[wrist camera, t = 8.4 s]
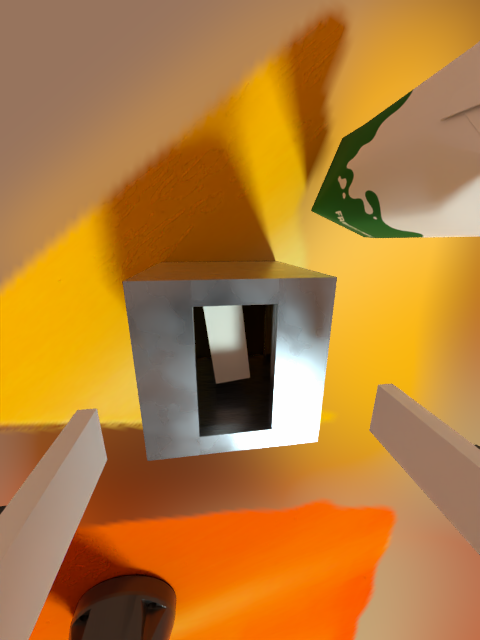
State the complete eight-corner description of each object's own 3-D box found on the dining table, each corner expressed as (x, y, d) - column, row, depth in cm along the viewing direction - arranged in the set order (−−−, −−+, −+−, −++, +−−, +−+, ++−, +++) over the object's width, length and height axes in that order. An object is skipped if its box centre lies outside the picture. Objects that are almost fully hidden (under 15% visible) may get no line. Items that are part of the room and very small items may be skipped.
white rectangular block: (202, 287, 27) (202, 305, 19) (230, 283, 27) (241, 299, 20) (212, 346, 29) (216, 383, 21) (237, 342, 29) (250, 377, 22)
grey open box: (271, 361, 31) (317, 441, 18) (170, 367, 29) (147, 460, 17) (275, 260, 27) (336, 277, 15) (161, 261, 25) (122, 281, 13)
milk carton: (407, 165, 26) (949, -34, 7) (365, 249, 28) (700, 266, 9) (338, 123, 24) (846, -317, 5) (298, 217, 26) (553, 153, 7)
